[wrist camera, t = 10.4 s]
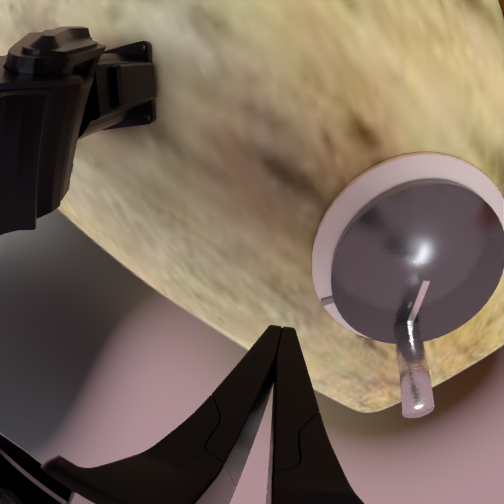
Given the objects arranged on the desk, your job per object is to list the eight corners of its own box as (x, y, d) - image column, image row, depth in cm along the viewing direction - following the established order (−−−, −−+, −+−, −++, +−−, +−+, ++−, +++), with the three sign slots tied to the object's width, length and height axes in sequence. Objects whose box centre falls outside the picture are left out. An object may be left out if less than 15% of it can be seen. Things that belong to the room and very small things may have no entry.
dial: (414, 352, 25) (424, 433, 18) (293, 288, 24) (276, 387, 16) (524, 251, 17) (572, 328, 9) (416, 133, 15) (488, 189, 7)
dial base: (302, 326, 28) (300, 336, 27) (322, 133, 18) (323, 137, 17) (461, 336, 25) (463, 345, 24) (530, 179, 14) (538, 185, 13)
